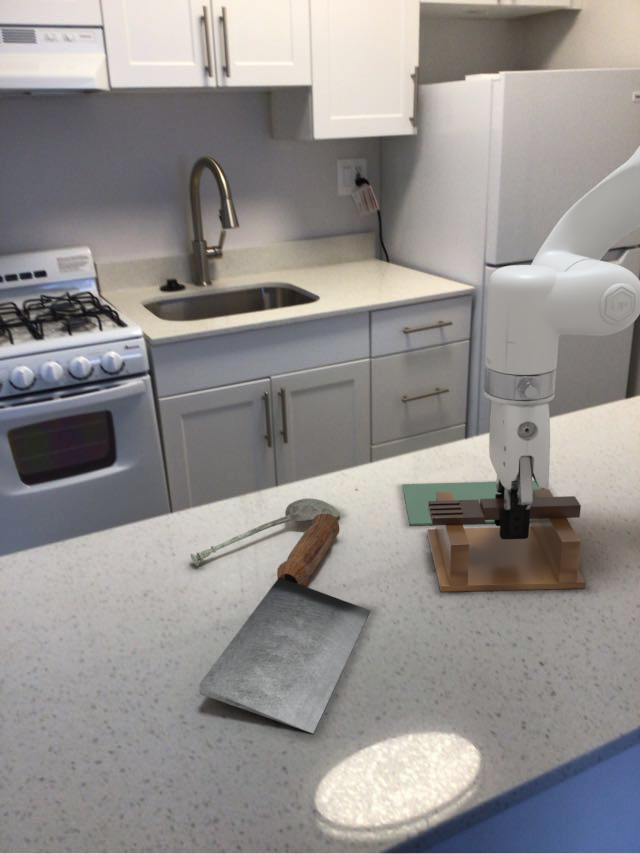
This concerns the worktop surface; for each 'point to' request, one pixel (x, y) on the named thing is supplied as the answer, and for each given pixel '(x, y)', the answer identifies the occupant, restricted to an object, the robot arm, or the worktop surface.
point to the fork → (499, 510)
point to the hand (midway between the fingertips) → (510, 530)
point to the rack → (506, 555)
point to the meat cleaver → (290, 642)
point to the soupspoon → (278, 522)
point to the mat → (423, 493)
